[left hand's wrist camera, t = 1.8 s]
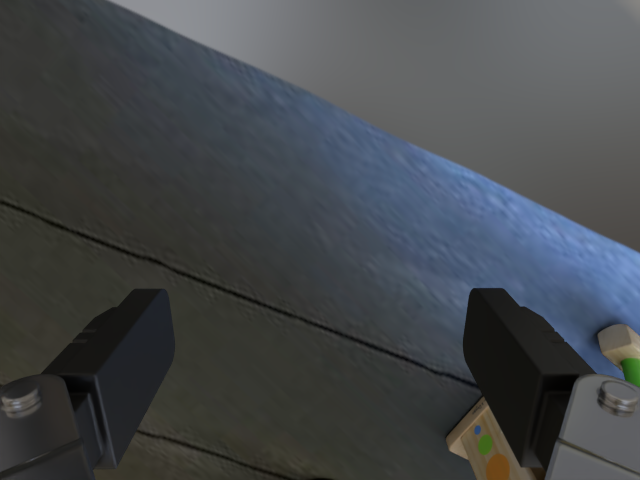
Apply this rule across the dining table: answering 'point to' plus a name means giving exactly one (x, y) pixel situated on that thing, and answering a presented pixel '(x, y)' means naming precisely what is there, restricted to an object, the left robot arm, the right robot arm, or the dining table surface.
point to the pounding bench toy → (489, 441)
